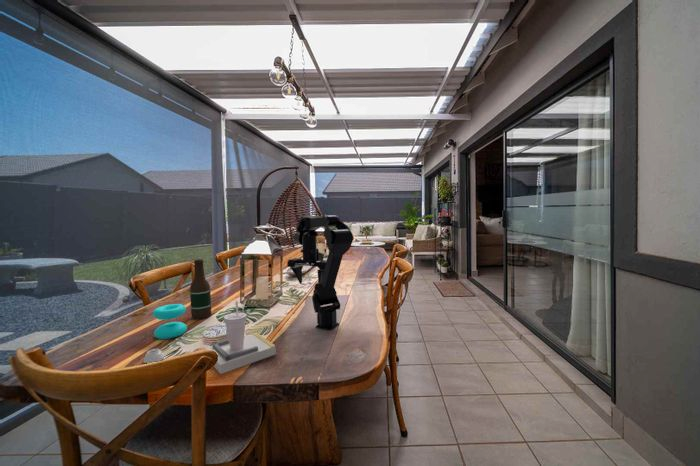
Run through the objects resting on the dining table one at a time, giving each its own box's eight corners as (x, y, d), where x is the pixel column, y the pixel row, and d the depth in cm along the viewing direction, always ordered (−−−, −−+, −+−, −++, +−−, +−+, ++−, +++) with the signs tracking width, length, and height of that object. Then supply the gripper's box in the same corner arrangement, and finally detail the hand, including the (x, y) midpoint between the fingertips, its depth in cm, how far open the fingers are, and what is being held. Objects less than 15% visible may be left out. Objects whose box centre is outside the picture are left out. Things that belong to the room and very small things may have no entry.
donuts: (153, 305, 107) (185, 301, 112) (155, 332, 107) (186, 327, 113) (151, 313, 98) (186, 308, 103) (153, 342, 99) (187, 336, 104)
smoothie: (248, 350, 87) (246, 302, 86) (225, 354, 84) (222, 305, 83) (247, 341, 92) (245, 297, 92) (225, 345, 90) (223, 300, 89)
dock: (256, 340, 99) (255, 329, 99) (275, 354, 89) (275, 343, 89) (205, 355, 89) (204, 344, 89) (220, 374, 78) (219, 361, 78)
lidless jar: (167, 356, 89) (150, 357, 89) (166, 346, 89) (149, 347, 89) (157, 364, 85) (139, 365, 84) (157, 354, 84) (138, 355, 84)
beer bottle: (215, 315, 125) (212, 259, 124) (197, 321, 119) (194, 261, 117) (204, 312, 129) (202, 257, 128) (187, 317, 123) (184, 260, 121)
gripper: (338, 245, 124) (339, 281, 126) (300, 243, 132) (301, 278, 133) (326, 248, 114) (326, 288, 115) (285, 246, 121) (287, 284, 123)
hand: (310, 284), depth 122 cm, fingers open, 9 cm apart
